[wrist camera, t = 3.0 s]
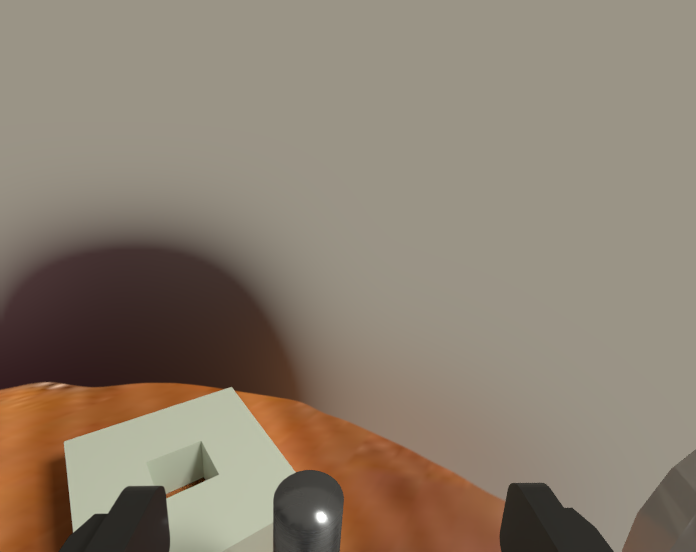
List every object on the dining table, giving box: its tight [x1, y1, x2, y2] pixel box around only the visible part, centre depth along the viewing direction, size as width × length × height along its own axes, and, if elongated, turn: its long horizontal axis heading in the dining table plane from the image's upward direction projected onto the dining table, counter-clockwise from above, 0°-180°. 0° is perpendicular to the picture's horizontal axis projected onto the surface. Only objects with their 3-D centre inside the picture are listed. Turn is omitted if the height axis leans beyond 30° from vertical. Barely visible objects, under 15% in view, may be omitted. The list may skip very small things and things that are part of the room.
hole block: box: [64, 387, 296, 552], centre depth 35 cm, size 16×18×4 cm
